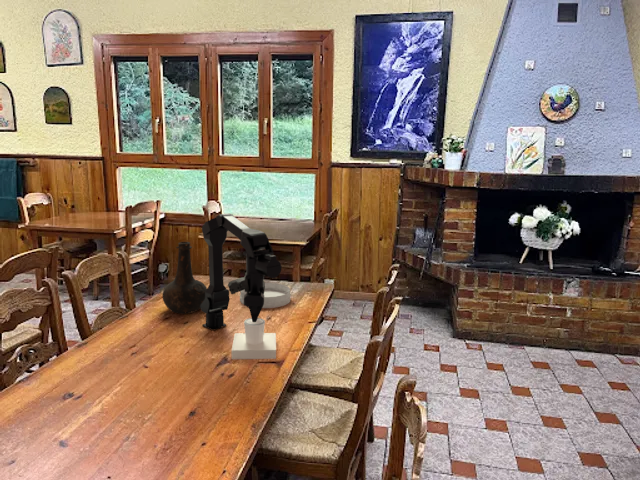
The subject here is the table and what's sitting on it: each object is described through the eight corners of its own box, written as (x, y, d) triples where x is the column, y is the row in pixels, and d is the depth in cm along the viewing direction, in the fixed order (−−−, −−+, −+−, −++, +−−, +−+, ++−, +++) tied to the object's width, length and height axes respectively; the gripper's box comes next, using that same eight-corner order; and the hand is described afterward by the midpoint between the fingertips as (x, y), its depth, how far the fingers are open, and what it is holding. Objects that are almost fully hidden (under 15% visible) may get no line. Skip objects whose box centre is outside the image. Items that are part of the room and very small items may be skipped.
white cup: (261, 346, 155) (261, 326, 154) (241, 344, 156) (241, 323, 155) (267, 338, 162) (267, 318, 160) (247, 336, 163) (247, 316, 162)
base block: (231, 359, 152) (231, 350, 152) (234, 341, 166) (234, 333, 165) (275, 358, 154) (276, 350, 153) (275, 341, 167) (275, 333, 167)
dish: (230, 304, 204) (230, 293, 203) (252, 290, 225) (252, 280, 224) (279, 311, 198) (279, 300, 197) (297, 296, 218) (297, 285, 217)
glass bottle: (184, 321, 183) (183, 249, 177) (153, 311, 192) (150, 242, 186) (217, 308, 198) (217, 242, 192) (186, 300, 207) (185, 236, 201)
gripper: (232, 263, 163) (232, 307, 166) (227, 278, 145) (227, 327, 148) (265, 263, 164) (264, 307, 167) (264, 279, 146) (263, 327, 149)
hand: (254, 316), depth 158 cm, fingers open, 9 cm apart
